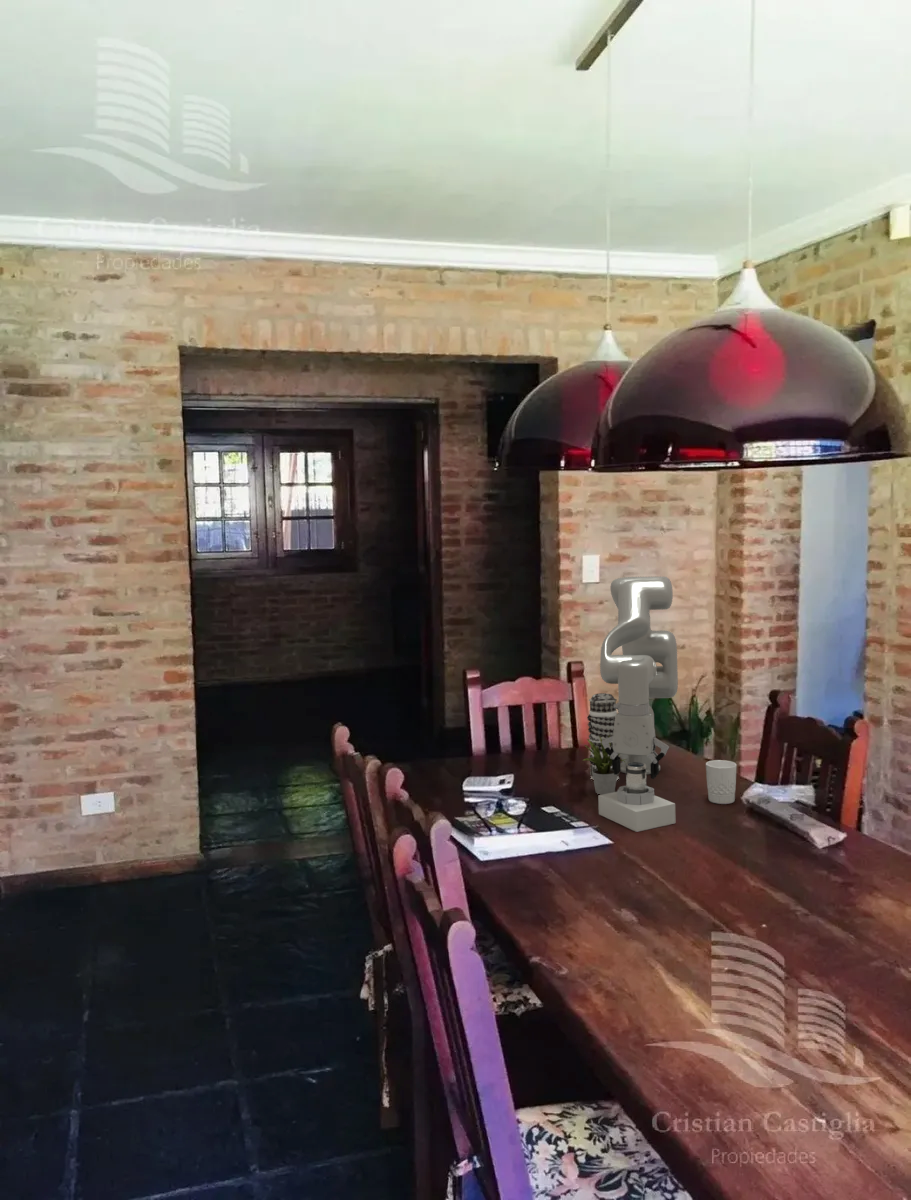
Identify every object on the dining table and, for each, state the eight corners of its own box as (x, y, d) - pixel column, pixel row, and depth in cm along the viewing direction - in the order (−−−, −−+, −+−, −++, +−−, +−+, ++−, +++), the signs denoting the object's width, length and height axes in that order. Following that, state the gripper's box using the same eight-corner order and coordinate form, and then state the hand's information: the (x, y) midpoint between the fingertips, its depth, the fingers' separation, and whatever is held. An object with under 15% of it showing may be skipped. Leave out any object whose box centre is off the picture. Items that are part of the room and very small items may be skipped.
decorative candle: (586, 782, 269) (584, 697, 266) (591, 773, 277) (589, 691, 275) (618, 783, 266) (616, 698, 264) (622, 774, 275) (620, 692, 273)
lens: (622, 798, 236) (621, 763, 235) (638, 795, 238) (638, 760, 237) (634, 803, 231) (633, 768, 230) (650, 800, 233) (650, 765, 233)
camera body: (598, 814, 240) (598, 785, 239) (636, 806, 245) (635, 778, 244) (636, 831, 225) (635, 801, 225) (675, 823, 231) (674, 793, 230)
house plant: (637, 801, 249) (636, 741, 248) (586, 802, 250) (584, 743, 248) (628, 785, 264) (627, 729, 262) (580, 787, 264) (578, 731, 262)
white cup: (740, 804, 243) (740, 767, 242) (710, 805, 243) (709, 768, 242) (732, 795, 251) (731, 759, 250) (703, 796, 251) (702, 760, 250)
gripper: (596, 710, 234) (598, 775, 235) (663, 715, 225) (664, 783, 227) (606, 703, 240) (608, 768, 242) (671, 708, 232) (673, 774, 234)
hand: (635, 775), depth 234 cm, fingers open, 9 cm apart
